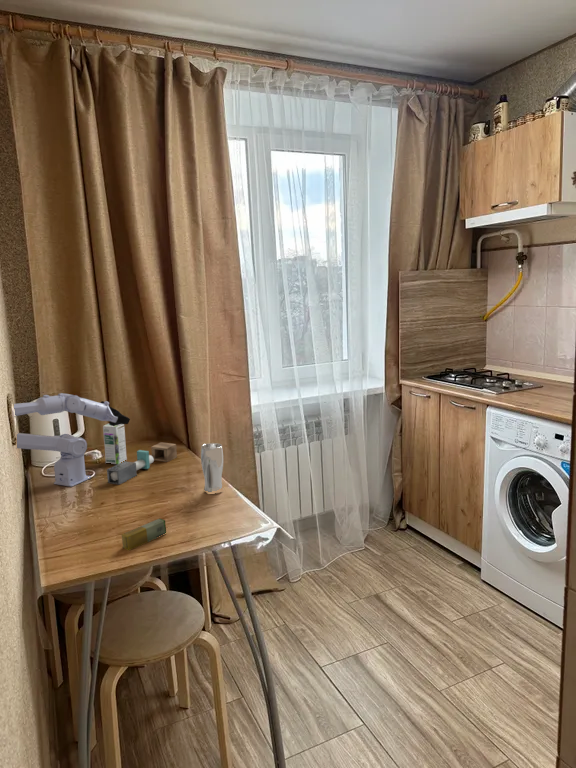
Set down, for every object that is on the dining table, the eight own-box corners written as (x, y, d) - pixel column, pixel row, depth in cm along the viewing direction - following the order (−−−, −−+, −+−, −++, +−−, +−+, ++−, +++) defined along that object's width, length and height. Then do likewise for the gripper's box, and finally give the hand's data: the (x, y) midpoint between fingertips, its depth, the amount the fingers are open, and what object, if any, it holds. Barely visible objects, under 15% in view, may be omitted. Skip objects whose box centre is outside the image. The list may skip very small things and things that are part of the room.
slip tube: (119, 482, 183) (117, 465, 182) (109, 481, 184) (108, 463, 183) (155, 464, 200) (154, 448, 199) (146, 463, 202) (145, 447, 201)
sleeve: (119, 484, 182) (118, 470, 182) (108, 482, 184) (106, 469, 183) (136, 475, 190) (135, 462, 190) (125, 474, 192) (124, 461, 192)
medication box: (161, 531, 148) (159, 517, 147) (167, 534, 146) (166, 520, 145) (122, 548, 139) (120, 533, 138) (128, 551, 137) (126, 536, 136)
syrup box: (105, 463, 204) (101, 425, 202) (114, 458, 210) (111, 422, 207) (118, 464, 203) (115, 426, 200) (127, 460, 208) (124, 422, 206)
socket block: (167, 461, 205) (166, 448, 204) (152, 459, 208) (151, 446, 207) (176, 457, 210) (176, 444, 209) (161, 455, 213) (160, 442, 212)
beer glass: (198, 494, 173) (196, 448, 170) (208, 486, 179) (206, 442, 177) (219, 496, 171) (217, 449, 168) (228, 488, 177) (226, 443, 175)
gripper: (106, 405, 185) (138, 414, 196) (85, 391, 194) (117, 400, 205) (98, 424, 185) (130, 432, 196) (77, 409, 194) (109, 418, 205)
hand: (122, 417), depth 200 cm, fingers open, 7 cm apart
